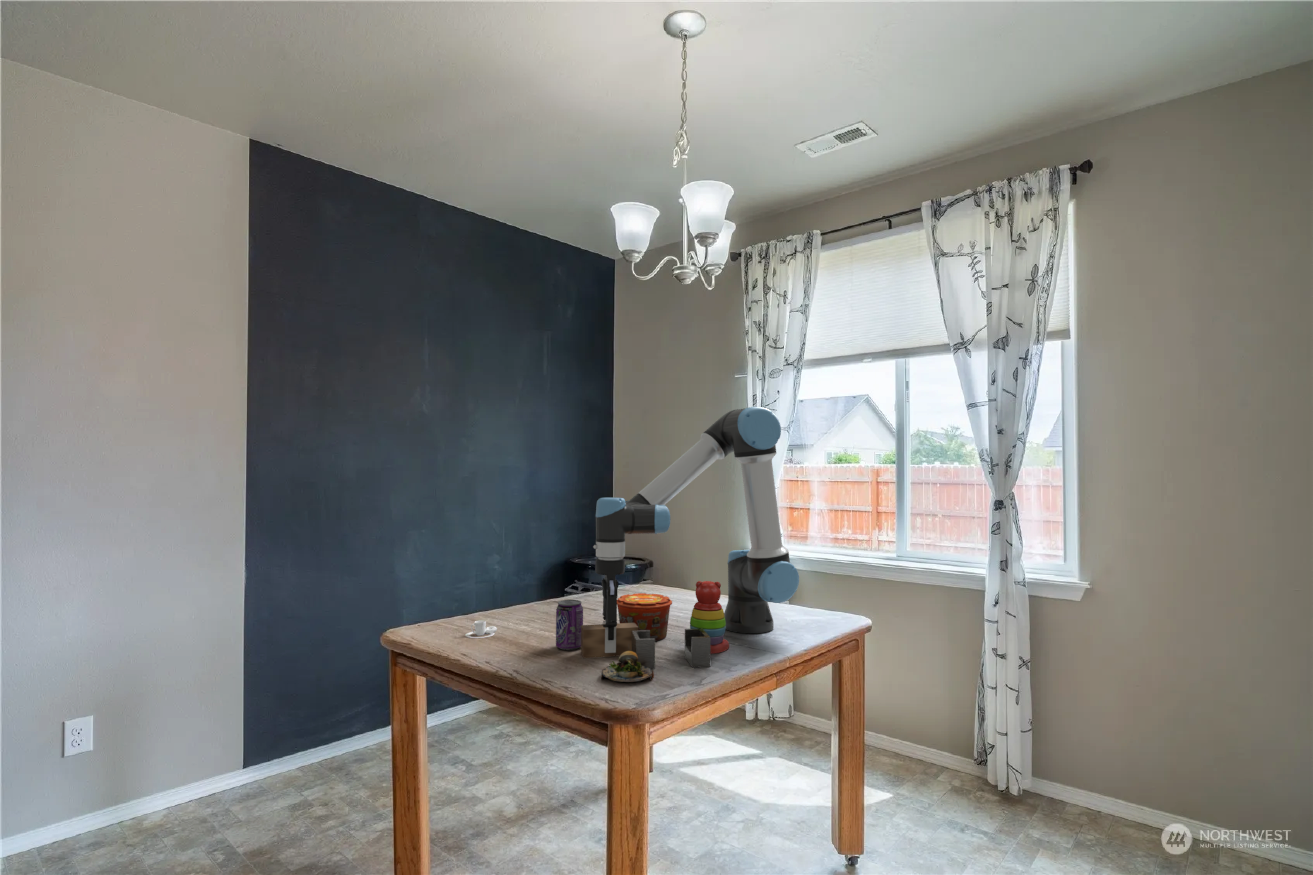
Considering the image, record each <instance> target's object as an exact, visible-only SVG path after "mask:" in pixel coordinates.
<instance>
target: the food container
mask: <svg viewBox="0 0 1313 875" xmlns="http://www.w3.org/2000/svg"><path fill="white" fill-rule="evenodd" d="M672 605H673V600H671V598H670V597H669V596H667V595H663V594H658V593H657V594H656V593H645V592H644V593H642V592H640V593H633V594H629V593H628V594H627V593H626V594H622V595H620V596H619V597H617V615H618V622H619V623H635V624H636V625H637V626H638V630H650V638H654V639H655V642H658V641H662V640H664V639H666V638H667V634H668V626H669V618H670V617H669V616H670V609H671V606H672Z"/></svg>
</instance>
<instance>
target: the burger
mask: <svg viewBox="0 0 1313 875" xmlns="http://www.w3.org/2000/svg"><path fill="white" fill-rule="evenodd" d="M637 660H638V656H637V654H636V653H635V652H632V651H626V652H624V653H622V654H621V655H620V656H618V662H616V663H615V661H613V660H612V663H609V665H608V666H606V667H604V668H603V669H601V677H600V679H601V681H602V680H603V678H607V679H609V680H611V681H613V682H617V683H618V682H622V683H634V682H641V681H643V680H646V679H648V678H649V677H650V681H653V679H654V677H655V674H654V669H651V668H649V667H646V666H643V665H641V663H640V662H637Z"/></svg>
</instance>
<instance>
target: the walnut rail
mask: <svg viewBox="0 0 1313 875" xmlns="http://www.w3.org/2000/svg"><path fill="white" fill-rule="evenodd" d="M603 625H606V624H603V623H602V624H583V625H581V647H580V653H581V656H582V658H583V659H589V658H590V659H591V658H593V659H595V658H610V657H619V656H620V655H621V654H622V653H624V652H626V651H632V631H638V626H637V625H636V624H635V623H618V622H617V626H616V653H605V627H603Z"/></svg>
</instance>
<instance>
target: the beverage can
mask: <svg viewBox="0 0 1313 875" xmlns="http://www.w3.org/2000/svg"><path fill="white" fill-rule="evenodd" d="M557 604H558V605H557V607H556V609H555V646H556V647H557V648H558V649H560V650H562V651H574V650H578V649H579V648H581V625H584V608H583V604H582V601H581V600H578V599H562V600H559V601H558V602H557Z"/></svg>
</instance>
